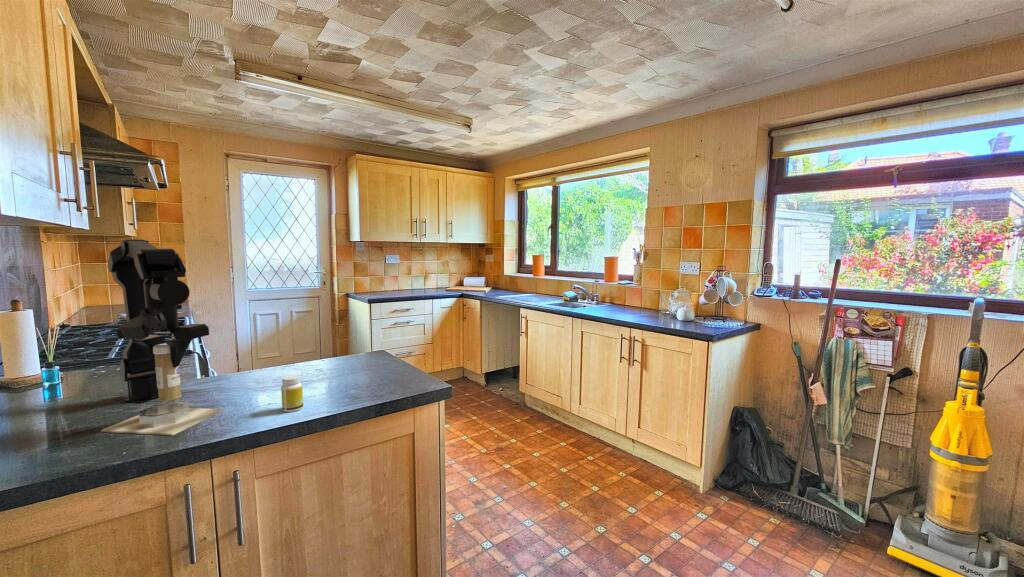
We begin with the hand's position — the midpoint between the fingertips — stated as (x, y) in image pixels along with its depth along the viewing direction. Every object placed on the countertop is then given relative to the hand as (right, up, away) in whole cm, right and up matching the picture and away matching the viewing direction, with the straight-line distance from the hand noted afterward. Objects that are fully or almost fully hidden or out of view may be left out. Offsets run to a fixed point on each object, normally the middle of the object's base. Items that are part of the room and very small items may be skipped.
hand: (167, 366), depth 101 cm
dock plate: (0, -13, 0) cm, 13 cm away
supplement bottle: (+26, -12, +7) cm, 30 cm away
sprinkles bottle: (0, -8, +1) cm, 8 cm away
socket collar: (0, -13, 0) cm, 13 cm away
